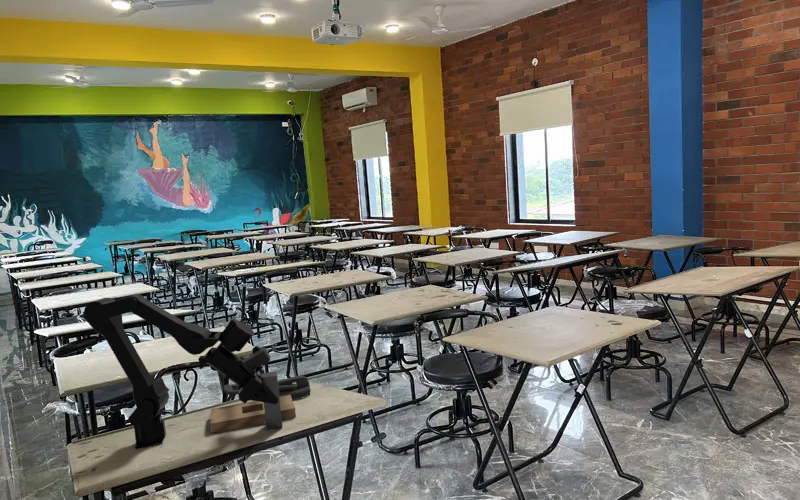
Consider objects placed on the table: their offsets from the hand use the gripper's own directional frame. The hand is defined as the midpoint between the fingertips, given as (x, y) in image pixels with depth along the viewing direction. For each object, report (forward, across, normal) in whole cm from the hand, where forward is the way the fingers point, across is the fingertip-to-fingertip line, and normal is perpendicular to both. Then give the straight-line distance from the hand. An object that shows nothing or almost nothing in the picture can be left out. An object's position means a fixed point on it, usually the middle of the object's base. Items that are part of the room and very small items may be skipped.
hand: (277, 399), depth 148 cm
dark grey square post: (+4, 0, +6) cm, 7 cm away
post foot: (0, +10, +10) cm, 14 cm away
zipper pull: (+3, +22, +8) cm, 23 cm away
